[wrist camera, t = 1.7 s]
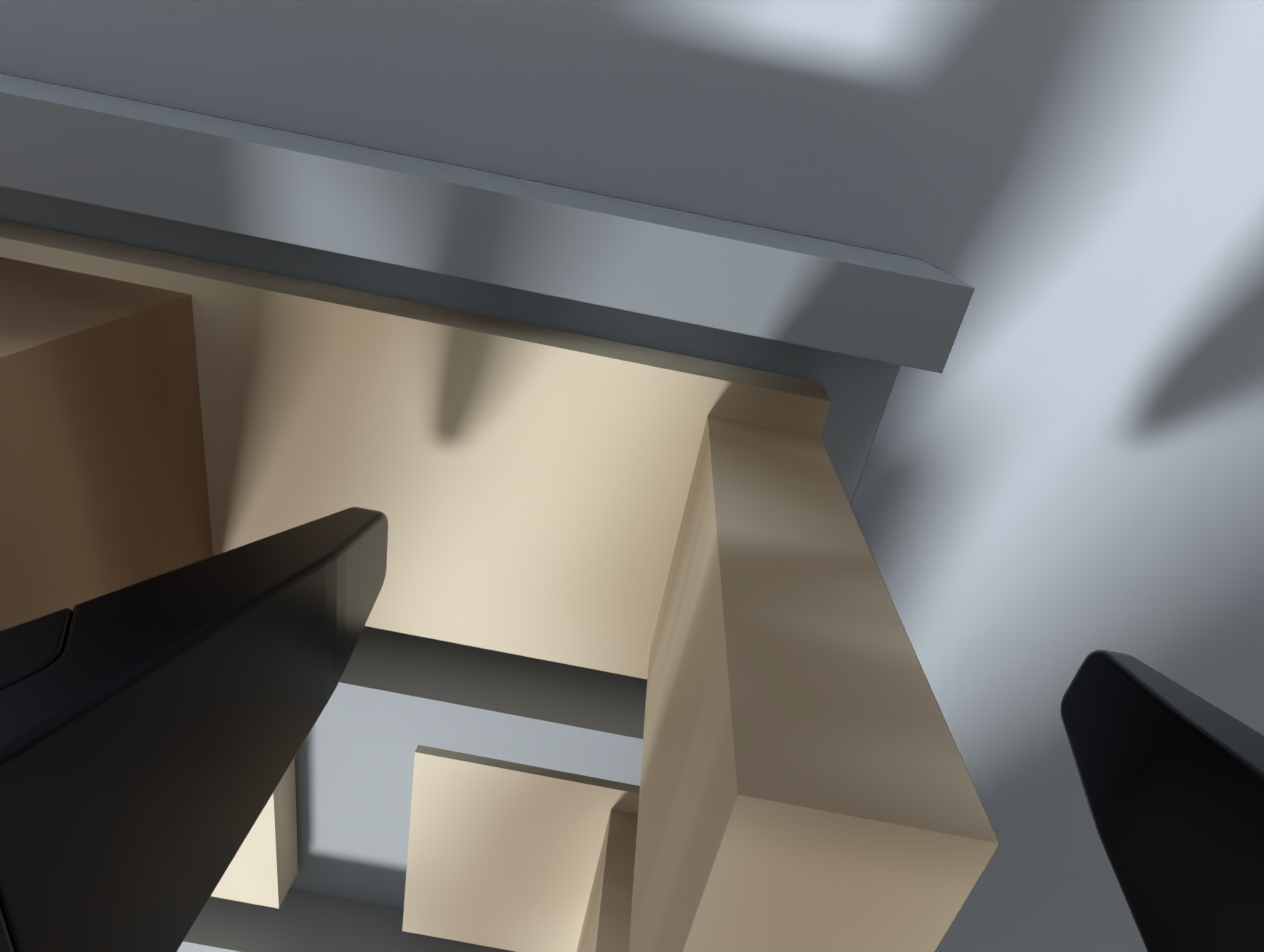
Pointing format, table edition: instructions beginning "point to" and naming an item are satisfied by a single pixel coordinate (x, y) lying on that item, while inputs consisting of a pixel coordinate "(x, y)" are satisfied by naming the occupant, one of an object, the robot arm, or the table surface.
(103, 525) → the cube
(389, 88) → the table surface
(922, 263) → the lane board
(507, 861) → the strip broken
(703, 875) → the tan piece
